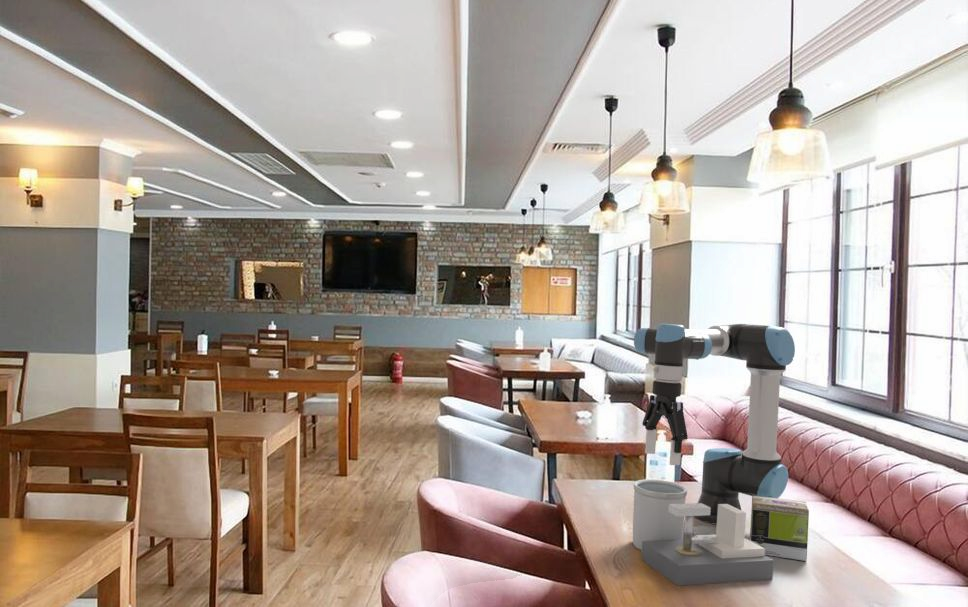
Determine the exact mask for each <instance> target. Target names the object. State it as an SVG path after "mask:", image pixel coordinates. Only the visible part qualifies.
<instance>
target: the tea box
mask: <svg viewBox="0 0 968 607" xmlns="http://www.w3.org/2000/svg"><path fill="white" fill-rule="evenodd" d="M809 517H810V510H809V507H808V504H807V502H806V501H804V500H803V501H802V500H792V499H784V498H770V497H761V496H754V495H753V496H751V513H750V531H749V532H750V534H749V538H750V539H749V541H751V542H753V543H755V544H757V545H759V546H761V547H763V548H765V554H764V555H765V556H771V557H778V558H784V559H789V560H798V561H801V562H802V561H803V562H807V559H808V558H807V556H808V542H809V540H808V539H809V538H808V537H809V522H810V521H809Z"/></svg>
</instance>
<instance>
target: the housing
mask: <svg viewBox="0 0 968 607" xmlns="http://www.w3.org/2000/svg"><path fill="white" fill-rule="evenodd" d="M640 560H641V561H642V562H644V563H645V564H646V565H648V566H649V567H651V568H652V569H654V570H655V571H657V572H658V573H659V574H661V575H662V576H663V577H665V578H666V579H667V580H669V581H670V582H672V583H673V584H675V585H676V586H677V587H679V586H695V585H708V584H709V585H710V584H722V583H723V584H725V583H737V582H738V583H739V582H752V581H754V582H755V581H769V580H773V575H774V559H772V558H770V557H768V555H764V556H758V557H740V558H720V557H719V556H717V555H715V554H713V553H712V552H710V551H708V550H707V549H705V548H703V547H702V546H700V545H698V544H692V547H691V551H685V550H683V538H682V539H678V540H656V541H642V550H641V559H640Z"/></svg>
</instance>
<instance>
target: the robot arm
mask: <svg viewBox="0 0 968 607" xmlns="http://www.w3.org/2000/svg"><path fill="white" fill-rule="evenodd" d="M656 327H657V328H651V327H643V328H642V327H641V328H638V329H637V330H636V331H635V333H634V337H633V345H634V348H635V350H636V351H637V352H639V353H641V354H646V355H654V365H653V366H654V367H653V369H652V370H653V378H654V379H655V380H653V381H652V391H651V392H652V394H651V395H649V401H648V402H649V403H648V405H647V407H646V408H647V409H646V411H645V414H644V417H643V420H642V427H645V430H646V434H645V435H646V436H645V449H644V450H645V451H644V454H647V455H648V454H650V455H651V454H653V455H654V454H656V446H657V444H656V443H657V426H658V424H659V423H660V421H661V419H662V417H664V418H665V419H666V420H667V423H668V427H669V429H670V432H671V436H672V437H671V439H670V450H669V451H670V452H669V454H670V455H669V465H670V466H681V460H682V458H681V457H682V445H683V441H684V440H685V441H686V440H688V432H687V426H686V421H685V420H686V419H685V415H684V403H683V402H682V401H677V398H678V397H680V396H681V395H682V383H681V381H682V380H683V366H684V365H683V364H684V360H696V361H697V360H702V359H705V358H707V357H709V355H711V356H714V357H723V358H725V357H726V358H729V359H735V360H738V361H746V362H745V364H746V370H748V371H749V372H750V385H749V388H750V389H749V401H748V402H749V406H748V425H747V446H746V449H744V450H743V451H742V450H741V449H738V448H727V447H726V448H725V447H724V448H723V447H722V448H721V447H719V448H718V447H717V448H708V449H706V450H705V451H704V455H703V461H702V477H701V478H702V479H701V493H700V496H699V498H698V501H697V503H702V504H704V505H706V506H708V507H710V508H711V511H710V515H703V516H694V517H695V518H696V519H697V520H700V521H703V522H704V523H708V524H711V525H712V524H713V525H717V512H718V504H729V505H731V506H733V507H735V508H737V509H739V510H741V511H743V510H742V508H741V502H740V500H739V495H740V494H743V495H747V496H750V497H752V496H753V495H754V496H761V497H770V498H778V499H780V497H781V496H782V495H783V493H784V492H785V490H786V488H787V485H788V482H789V471H788V468H787V466H785V465H784V464H782V456H781V454H779V453H778V451H777V445H778V442H777V441H778V423H779V407H780V406H779V404H780V403H779V402H780V389H781V388H780V384H781V382H780V381H781V374H782V375H783V373H785V372H786V370H787V369H786V368H787V366H788V365H791V363H792V362H793V361H794V359H793V358H794V357H795V353H796V350H795V349H796V348H795V347H796V346H795V341H794V338H793V336H792V334H791V332H790V331H789V330H788V329H787V328H784V327H781V326H774V325H761V324H749V323H748V324H747V323H736V324H735V323H733V324H725V325H713V326H710V327H708V328H686V327H685V326H684V325H683V324H674V323H673V324H672V323H671V324H670V323H659V324H658V326H656Z"/></svg>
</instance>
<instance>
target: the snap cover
mask: <svg viewBox="0 0 968 607" xmlns="http://www.w3.org/2000/svg"><path fill="white" fill-rule="evenodd" d="M741 510H742V509H741ZM741 510H739V509H737V508H735V507H733V506H731V505H729V504H718V512H717V524H716V531H715V534H698V535H697V534H696V535H695V537H706V536H713V537H715V538H717V539H718V543H707V544H698V545H700V546H702V547H703V548H705V549H707V550H708V551H710V552H712V553H713V554H715V555H717V556H719V557H720V558H740V557H758V556H764V554H765V548H763V547H761V546H759V545H757V544H755V543H753V542H751V541H750V539H747V538H745V536H746V535H745V534H746V518H747V512H745V511H744V510H742V511H741Z"/></svg>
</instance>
